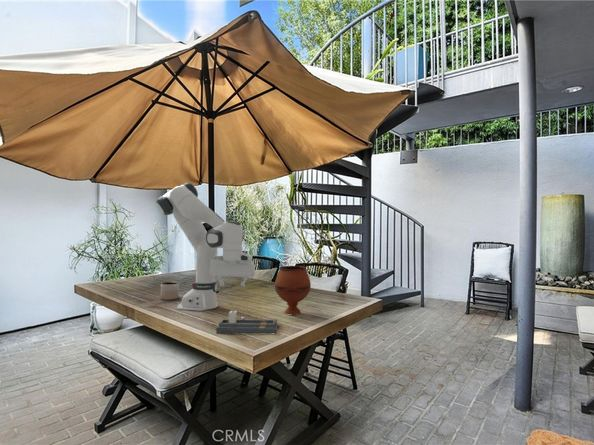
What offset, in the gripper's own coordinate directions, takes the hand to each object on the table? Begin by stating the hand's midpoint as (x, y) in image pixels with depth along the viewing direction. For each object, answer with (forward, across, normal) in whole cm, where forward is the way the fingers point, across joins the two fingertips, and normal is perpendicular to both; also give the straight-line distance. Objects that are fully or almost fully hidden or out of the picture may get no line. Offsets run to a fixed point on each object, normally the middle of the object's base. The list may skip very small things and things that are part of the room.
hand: (232, 286), depth 154 cm
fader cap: (+17, 0, 0) cm, 17 cm away
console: (+20, +7, 0) cm, 21 cm away
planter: (+20, -52, +58) cm, 80 cm away
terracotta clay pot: (+20, +27, +27) cm, 43 cm away
